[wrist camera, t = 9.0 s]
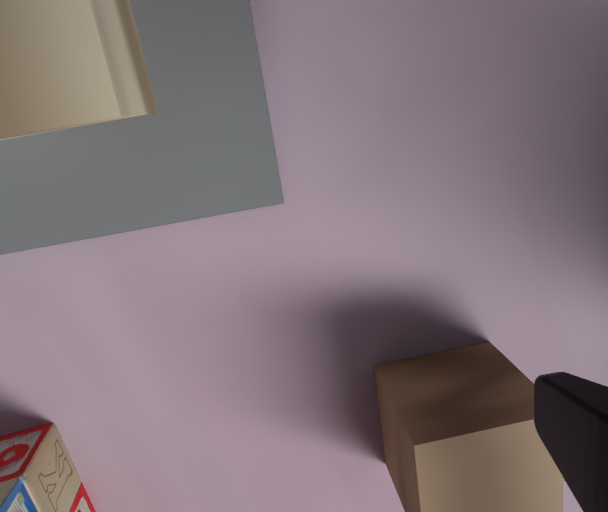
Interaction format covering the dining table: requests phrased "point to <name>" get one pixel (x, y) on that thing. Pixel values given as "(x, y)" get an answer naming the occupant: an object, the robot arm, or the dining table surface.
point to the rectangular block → (464, 434)
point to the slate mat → (154, 139)
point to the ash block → (69, 65)
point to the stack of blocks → (39, 474)
